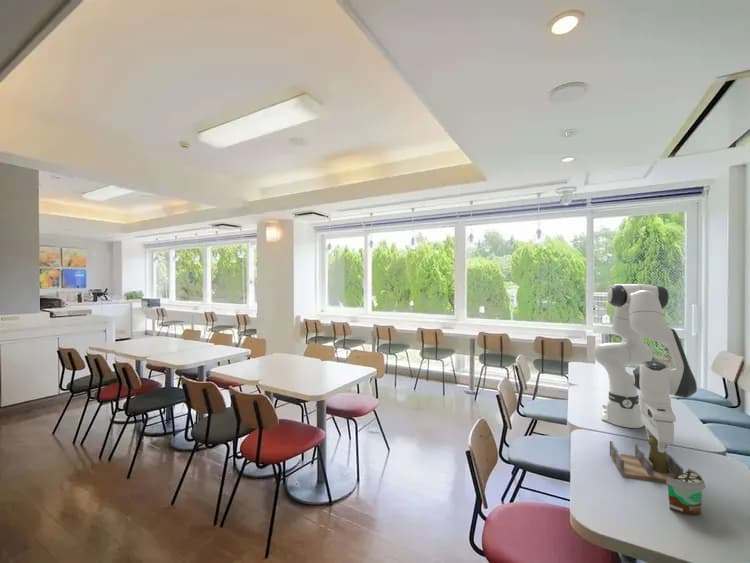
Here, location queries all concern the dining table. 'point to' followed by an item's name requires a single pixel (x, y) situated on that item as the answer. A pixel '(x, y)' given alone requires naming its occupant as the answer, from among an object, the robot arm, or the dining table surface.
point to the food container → (686, 492)
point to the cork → (657, 457)
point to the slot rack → (642, 465)
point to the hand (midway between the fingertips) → (655, 445)
